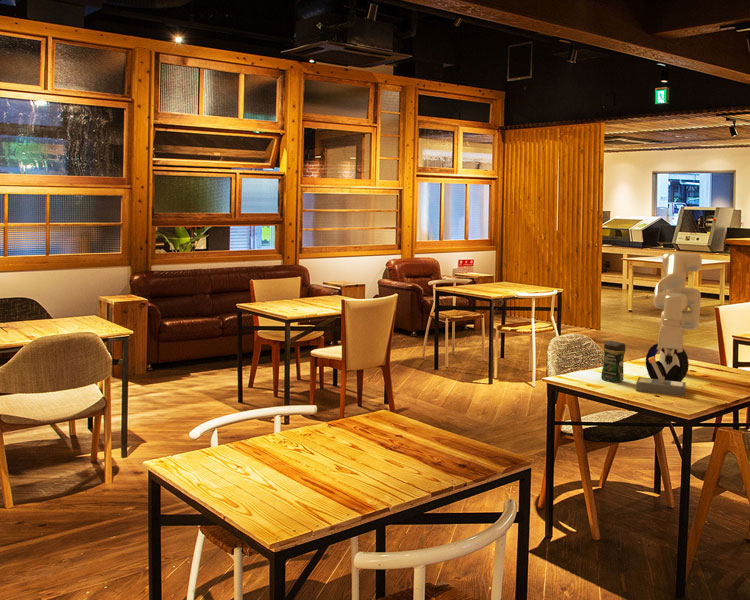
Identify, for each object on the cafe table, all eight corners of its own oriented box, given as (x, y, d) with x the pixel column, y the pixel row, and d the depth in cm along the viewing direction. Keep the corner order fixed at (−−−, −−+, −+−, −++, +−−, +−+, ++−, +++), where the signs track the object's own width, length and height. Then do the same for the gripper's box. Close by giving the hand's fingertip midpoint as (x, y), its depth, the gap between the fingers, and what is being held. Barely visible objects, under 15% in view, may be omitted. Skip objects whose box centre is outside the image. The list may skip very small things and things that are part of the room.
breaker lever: (660, 381, 346) (648, 358, 347) (665, 379, 345) (653, 356, 346) (659, 383, 343) (648, 359, 344) (664, 381, 342) (653, 357, 343)
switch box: (638, 385, 354) (639, 372, 353) (685, 391, 346) (686, 377, 345) (635, 390, 344) (636, 377, 343) (684, 396, 336) (685, 382, 335)
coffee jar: (598, 379, 363) (601, 340, 361) (607, 377, 369) (610, 339, 366) (616, 383, 356) (619, 344, 354) (625, 381, 362) (628, 342, 359)
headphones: (687, 388, 352) (691, 345, 349) (679, 390, 348) (683, 346, 345) (651, 380, 366) (654, 338, 363) (643, 381, 362) (646, 339, 359)
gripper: (690, 323, 340) (687, 364, 342) (654, 320, 346) (651, 360, 349) (689, 325, 333) (686, 367, 336) (653, 322, 339) (649, 363, 342)
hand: (668, 363), depth 342 cm, fingers closed
